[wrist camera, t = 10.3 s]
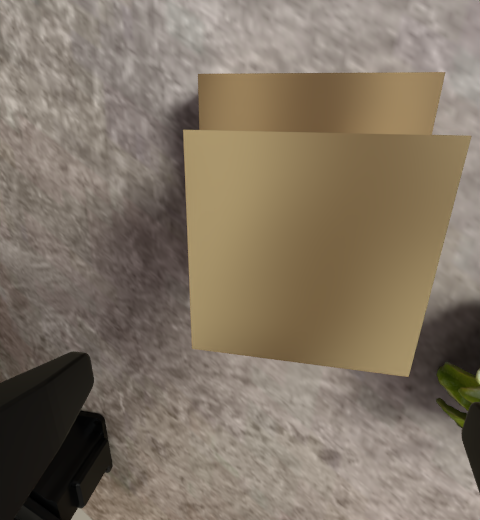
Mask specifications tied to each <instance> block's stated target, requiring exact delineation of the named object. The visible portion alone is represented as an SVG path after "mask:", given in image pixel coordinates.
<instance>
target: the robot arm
mask: <svg viewBox="0 0 480 520" xmlns="http://www.w3.org/2000/svg"><path fill="white" fill-rule="evenodd" d="M93 383H94V377H93V371H92V365H91V360H90V356H89V355H88V354H87V353H82V352H70V353H67V354H65V355H63V356H61V357H58V358H56V359H54V360H51V361H49V362H47V363H45V364H42V365H40V366H38V367H36V368H33V369H31V370H29V371H27V372H24V373H22V374H20V375H17V376H15V377H13V378H11V379H8V380H6V381H4V382H2V383H0V520H71V518H72V516H73V515H74V513H75V512H76V510H77V508H83V507H84V506H85V505H86V504H87V502H88V500H89V498H90V497H91V495H92V493H93V492H94V490H95V488H96V486H97V485H98V483H99V481H100V480H101V478H102V476H103V474H104V473H105V472H106V473H108V472H110V470H111V469H112V466H113V465H112V459H111V454H110V448H109V442H108V436H107V431H106V425H105V420H104V418H103V417H102V416H101V415H98V414H92V413H87V412H81V411H80V410H81V408H82V406H83V404H84V403H85V401H86V399H87V397H88V395H89V393H90V391H91V389H92V387H93ZM462 441H463V444H464V447H465V450H466V453H467V456H468V459H469V462H470V465H471V468H472V471H473V475H474V478H475V481H476V484H477V487H478V490H479V493H480V402H473V403H472V404H471V405H470V407H469V410H468V413H467V416H466V419H465V422H464V425H463V428H462Z"/></svg>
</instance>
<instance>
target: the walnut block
mask: <svg viewBox="0 0 480 520" xmlns="http://www.w3.org/2000/svg"><path fill="white" fill-rule="evenodd" d="M444 76H445V72H421V73H267V74H198V94H199V130H218V131H265V132H313V133H360V134H408V135H432V131H433V126H434V121H435V117H436V112H437V108H438V103H439V99H440V94H441V90H442V85H443V80H444Z"/></svg>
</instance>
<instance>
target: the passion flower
mask: <svg viewBox="0 0 480 520" xmlns="http://www.w3.org/2000/svg"><path fill="white" fill-rule="evenodd" d="M437 377H438V381H439V383H440V384H441V385H442V386H443V387H444V388H445V389H446V391H447V392H448V394H449V395H450V396H451V397H452V398H454V399H455V400H456V401H457V402H458V403H459V404H460V405H461V406H463V407H464V408H465V409H466V410H467V411H468V410H469V407H470V405H471V404H472V403H473V402H480V368H479V370H478V371H477V373H476V376H475V375H473V374H471V373H469V372H466V371H465V370H463V369H461V368H459V367H458V366H456V365H453V364H451V363H449V362H446V363H445V364H444V366H443V367H440V368H439V369H438V371H437ZM436 402H437V404H438V405H439V406H440V407H441V408H442V409H443V411H445V412H446V413H447V414H448V415H449V416H450V417H451V418H452V419H453V420H454V421H455V422H456V423H457V425H458V426H459V427H461V428H463V425H464V422H465V419H466V416H467V413H464V412H460V411H459V410H457V409H455V408H453V407H451V406H449V405H447V404H446V403H445V401H444V400H442V399H441V398H437V399H436Z"/></svg>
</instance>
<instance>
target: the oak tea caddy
mask: <svg viewBox="0 0 480 520" xmlns="http://www.w3.org/2000/svg"><path fill="white" fill-rule="evenodd" d="M183 138H184V163H185V188H186V213H187V237H188V262H189V287H190V312H191V336H192V349H199V350H207V351H214V352H222V353H229V354H237V355H245V356H252V357H260V358H268V359H275V360H283V361H291V362H298V363H306V364H313V365H321V366H329V367H336V368H344V369H352V370H359V371H367V372H374V373H382V374H390V375H397V376H405V377H409V373H410V370H411V366H412V362H413V358H414V354H415V350H416V347H417V343H418V339H419V335H420V331H421V327H422V324H423V320H424V316H425V312H426V308H427V304H428V301H429V297H430V293H431V289H432V285H433V281H434V278H435V274H436V270H437V266H438V262H439V258H440V255H441V251H442V247H443V243H444V239H445V235H446V232H447V228H448V224H449V220H450V216H451V212H452V209H453V205H454V201H455V197H456V193H457V189H458V186H459V182H460V178H461V174H462V170H463V166H464V163H465V159H466V155H467V151H468V147H469V143H470V140H471V136H455V135H408V134H360V133H313V132H265V131H218V130H183Z"/></svg>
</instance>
